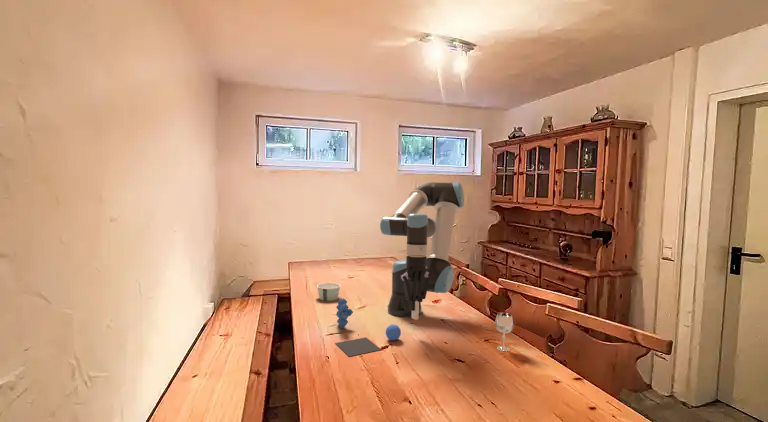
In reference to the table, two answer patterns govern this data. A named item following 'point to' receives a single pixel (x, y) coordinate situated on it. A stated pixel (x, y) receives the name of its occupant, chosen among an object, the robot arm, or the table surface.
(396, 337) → the ball
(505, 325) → the wineglass
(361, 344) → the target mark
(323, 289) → the food container
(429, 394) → the table surface
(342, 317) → the grapes
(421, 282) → the robot arm
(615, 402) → the table surface
